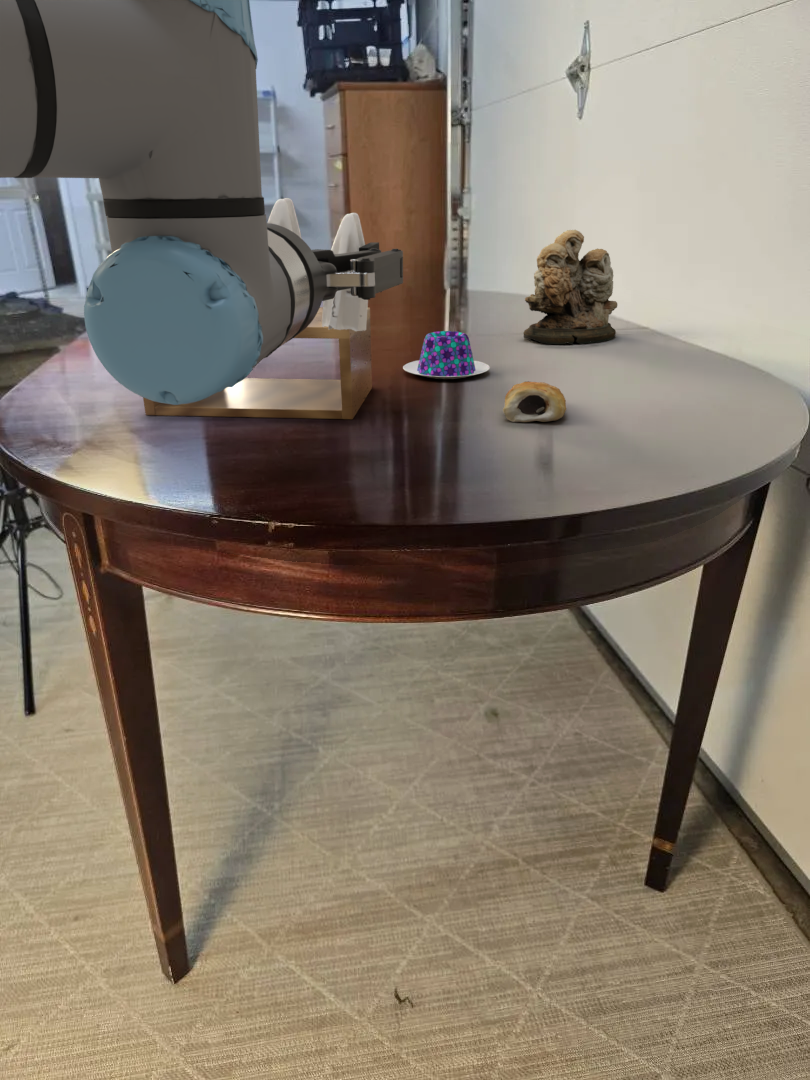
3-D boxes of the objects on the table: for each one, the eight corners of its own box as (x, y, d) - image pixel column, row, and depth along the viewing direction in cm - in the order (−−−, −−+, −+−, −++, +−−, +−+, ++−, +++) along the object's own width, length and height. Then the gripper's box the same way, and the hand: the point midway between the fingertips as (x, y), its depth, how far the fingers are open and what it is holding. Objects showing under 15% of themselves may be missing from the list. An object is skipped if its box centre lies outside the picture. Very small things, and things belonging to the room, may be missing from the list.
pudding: (452, 360, 115) (452, 324, 112) (507, 374, 106) (509, 335, 104) (385, 371, 108) (385, 332, 106) (439, 386, 99) (439, 345, 97)
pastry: (509, 401, 92) (511, 369, 91) (566, 404, 91) (569, 372, 89) (501, 422, 84) (503, 387, 82) (564, 426, 83) (567, 391, 81)
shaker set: (266, 349, 62) (253, 199, 57) (240, 342, 65) (226, 199, 60) (382, 331, 69) (379, 196, 64) (354, 326, 72) (349, 196, 67)
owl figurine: (548, 349, 122) (556, 232, 115) (503, 338, 131) (508, 230, 124) (632, 338, 130) (644, 229, 123) (584, 328, 139) (592, 226, 132)
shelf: (145, 415, 88) (131, 325, 84) (192, 384, 102) (182, 306, 98) (352, 419, 86) (349, 327, 82) (372, 387, 99) (370, 307, 95)
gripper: (101, 348, 51) (214, 301, 71) (421, 353, 49) (442, 303, 69) (81, 225, 48) (205, 213, 68) (421, 224, 46) (444, 212, 66)
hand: (325, 258), depth 69 cm, fingers closed on shaker set, 8 cm apart
